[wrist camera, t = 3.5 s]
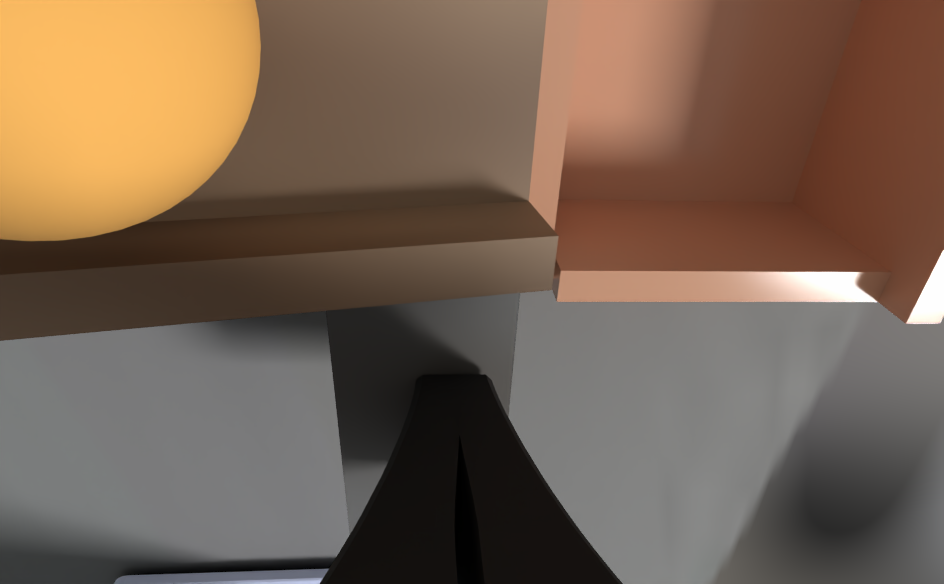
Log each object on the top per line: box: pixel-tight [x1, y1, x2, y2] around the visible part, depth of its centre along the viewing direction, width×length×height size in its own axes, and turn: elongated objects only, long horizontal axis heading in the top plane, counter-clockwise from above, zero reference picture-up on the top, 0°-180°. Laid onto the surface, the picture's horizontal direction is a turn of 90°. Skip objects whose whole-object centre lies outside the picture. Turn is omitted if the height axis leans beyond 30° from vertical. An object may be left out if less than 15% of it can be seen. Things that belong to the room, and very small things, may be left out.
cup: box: [529, 0, 944, 324], centre depth 9 cm, size 9×7×4 cm
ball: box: [0, 0, 261, 241], centre depth 4 cm, size 4×4×4 cm
